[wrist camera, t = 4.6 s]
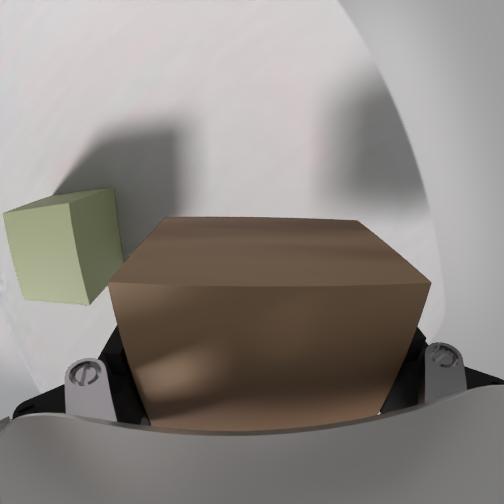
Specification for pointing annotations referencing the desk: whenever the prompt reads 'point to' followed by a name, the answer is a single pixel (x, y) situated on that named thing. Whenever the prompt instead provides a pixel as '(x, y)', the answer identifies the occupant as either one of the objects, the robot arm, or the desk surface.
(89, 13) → the desk surface
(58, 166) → the desk surface
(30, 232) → the olive block
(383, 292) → the walnut block
